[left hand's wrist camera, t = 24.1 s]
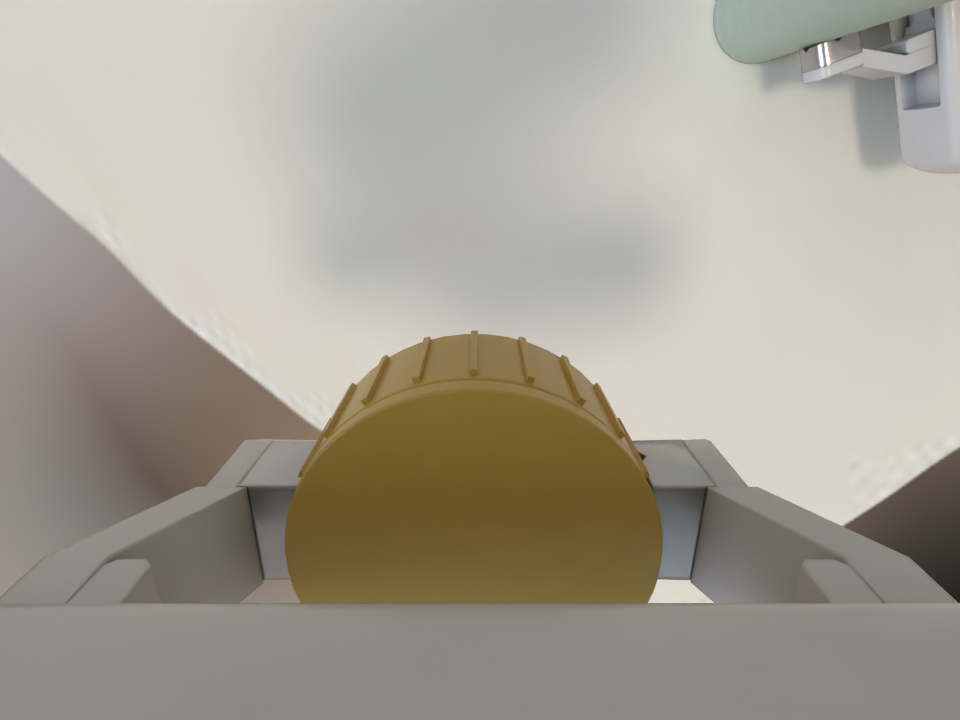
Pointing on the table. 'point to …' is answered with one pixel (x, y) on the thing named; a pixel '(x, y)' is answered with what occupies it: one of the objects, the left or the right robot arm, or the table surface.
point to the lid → (474, 486)
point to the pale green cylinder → (799, 23)
